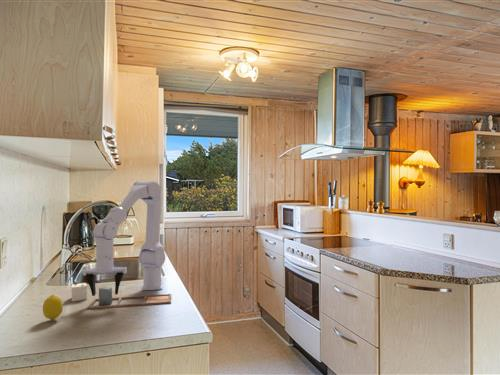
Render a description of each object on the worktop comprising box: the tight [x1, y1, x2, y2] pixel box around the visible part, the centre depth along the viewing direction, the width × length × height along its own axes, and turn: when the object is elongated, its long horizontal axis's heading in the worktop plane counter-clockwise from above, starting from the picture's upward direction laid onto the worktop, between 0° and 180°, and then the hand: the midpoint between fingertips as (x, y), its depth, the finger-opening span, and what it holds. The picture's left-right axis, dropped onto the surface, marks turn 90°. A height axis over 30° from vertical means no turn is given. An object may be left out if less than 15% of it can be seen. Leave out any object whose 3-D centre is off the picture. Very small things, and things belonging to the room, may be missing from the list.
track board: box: [87, 293, 172, 310], centre depth 134 cm, size 10×28×1 cm, turn 101°
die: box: [71, 282, 88, 302], centre depth 139 cm, size 5×5×5 cm
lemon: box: [42, 294, 64, 321], centre depth 116 cm, size 6×6×8 cm
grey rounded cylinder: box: [98, 286, 113, 306], centre depth 132 cm, size 4×4×6 cm
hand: (105, 294), depth 132 cm, fingers open, 7 cm apart
